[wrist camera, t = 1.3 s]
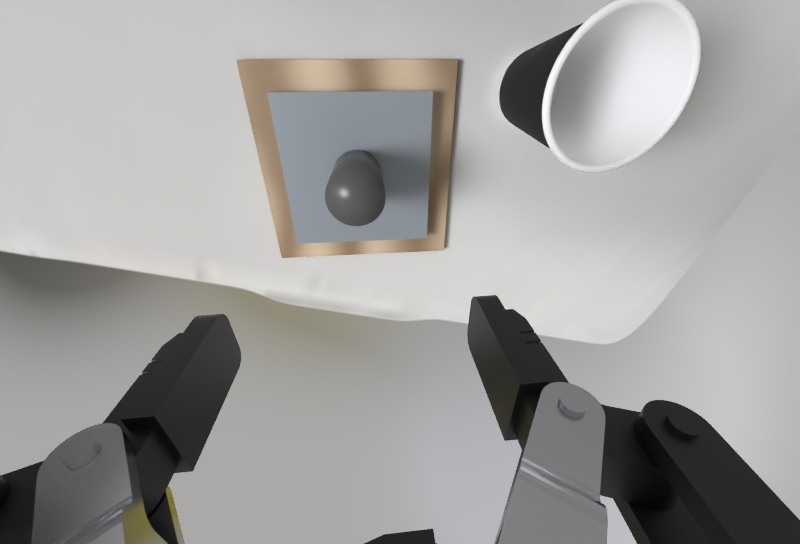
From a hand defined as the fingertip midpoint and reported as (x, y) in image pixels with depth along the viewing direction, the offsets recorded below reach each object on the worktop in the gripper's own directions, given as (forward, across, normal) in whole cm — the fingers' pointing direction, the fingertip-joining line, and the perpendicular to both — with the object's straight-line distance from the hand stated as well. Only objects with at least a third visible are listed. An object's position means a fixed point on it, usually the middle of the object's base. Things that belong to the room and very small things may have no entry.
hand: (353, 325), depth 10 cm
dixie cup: (+20, -14, -6) cm, 25 cm away
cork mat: (+20, 0, 0) cm, 20 cm away
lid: (+20, 0, 0) cm, 20 cm away
